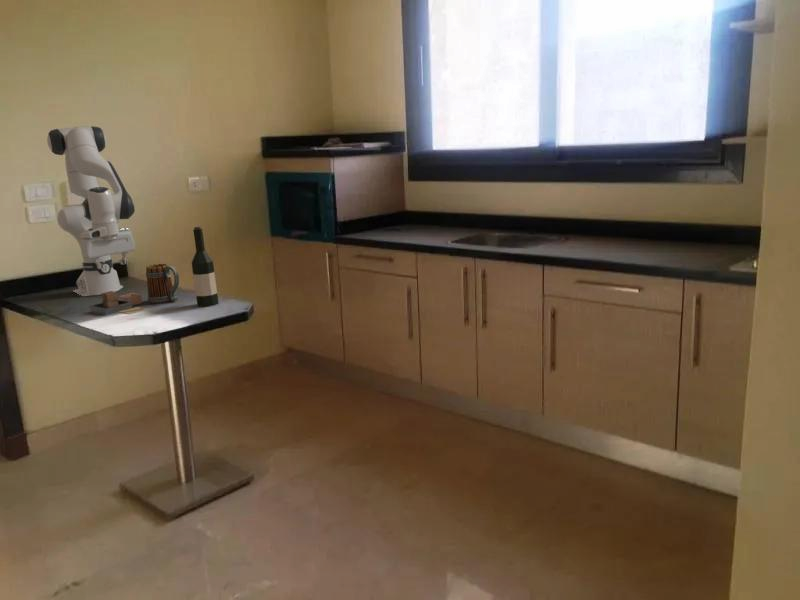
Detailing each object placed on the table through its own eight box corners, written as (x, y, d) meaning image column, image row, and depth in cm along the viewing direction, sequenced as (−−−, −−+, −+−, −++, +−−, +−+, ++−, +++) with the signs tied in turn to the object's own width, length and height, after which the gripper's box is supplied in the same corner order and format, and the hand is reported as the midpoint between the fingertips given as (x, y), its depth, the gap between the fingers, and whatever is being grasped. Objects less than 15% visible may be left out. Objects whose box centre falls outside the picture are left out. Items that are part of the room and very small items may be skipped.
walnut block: (104, 311, 258) (101, 293, 257) (113, 308, 261) (110, 291, 260) (109, 312, 256) (106, 294, 254) (119, 309, 259) (116, 291, 257)
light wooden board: (118, 313, 255) (118, 311, 255) (137, 308, 261) (137, 306, 261) (129, 315, 250) (129, 314, 250) (148, 310, 256) (148, 309, 256)
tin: (91, 313, 258) (89, 305, 257) (117, 306, 266) (116, 299, 266) (105, 316, 251) (104, 308, 251) (132, 309, 260) (131, 302, 259)
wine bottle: (221, 301, 264) (211, 225, 257) (215, 306, 255) (204, 227, 249) (200, 302, 264) (190, 226, 257) (193, 307, 256) (182, 229, 249)
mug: (142, 304, 267) (136, 267, 264) (163, 298, 276) (157, 262, 273) (171, 306, 260) (165, 268, 257) (191, 300, 269) (185, 263, 266)
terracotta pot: (120, 305, 268) (118, 296, 267) (134, 302, 272) (132, 293, 271) (128, 307, 264) (127, 297, 263) (142, 303, 269) (140, 294, 268)
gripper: (126, 226, 264) (132, 261, 268) (76, 234, 249) (82, 271, 252) (135, 226, 261) (141, 262, 264) (84, 234, 245) (91, 271, 248)
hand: (112, 266), depth 258 cm, fingers open, 8 cm apart
